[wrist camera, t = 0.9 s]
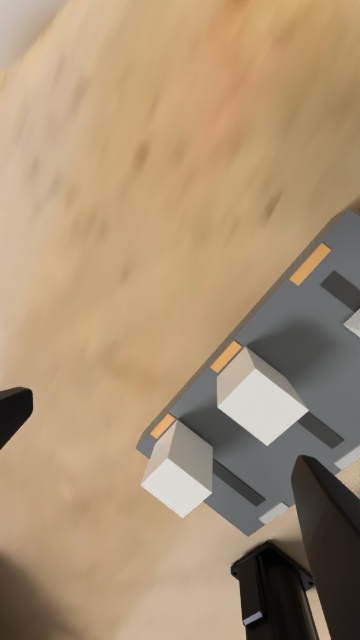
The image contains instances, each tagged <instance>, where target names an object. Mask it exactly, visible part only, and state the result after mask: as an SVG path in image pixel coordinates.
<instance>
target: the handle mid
mask: <svg viewBox="0 0 360 640" xmlns="http://www.w3.org/2000/svg"><path fill="white" fill-rule="evenodd" d="M217 407H218V408H219V409H220V410H222V411H223V412H224V413H226V414H227V415H228V416H229V417H231V418H232V419H233V420H234V421H236V422H237V423H238V424H240V425H241V426H242V427H243V428H245V429H246V430H247V431H249V432H250V433H251V434H252V435H254V436H255V437H256V438H258V439H259V440H260V441H261V442H263V443H264V444H265V445H266V446H268V445H269V444H270V443H271V442H273V441H274V440H275V439H276V438H277V437H278V436H280V435H281V434H282V433H283V432H284V431H285V430H287V429H288V428H289V427H290V426H291V425H293V424H294V423H295V422H296V421H297V420H298V419H300V418H301V417H302V416H303V415H304V414H305V413H307V412H308V411H309V410H308V408H307V407H306V405H305V404H304V402H303V401H302V400H301V398H300V397H299V395H298V394H297V393H296V391H295V390H294V388H293V387H292V385H291V384H290V383H289V381H288V380H287V378H286V377H284V376H283V375H282V374H281V373H279V372H278V371H277V370H275V369H274V368H273V367H272V366H270V365H269V364H268V363H266V362H265V361H264V360H263V359H261V358H260V357H259V356H257V355H256V354H255V353H254V352H252V351H251V350H250V349H248V348H247V347H246V346H245V347H244V348H243V350H242V351H241V352H240V353H239V354H238V355H237V356H236V357H235V358H234V359H233V360H232V361H231V362H230V364H229V365H228V366H227V367H226V368H225V369H224V370H223V371H222V372H221V373H220V374H219V375H218V376H217Z"/></svg>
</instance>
